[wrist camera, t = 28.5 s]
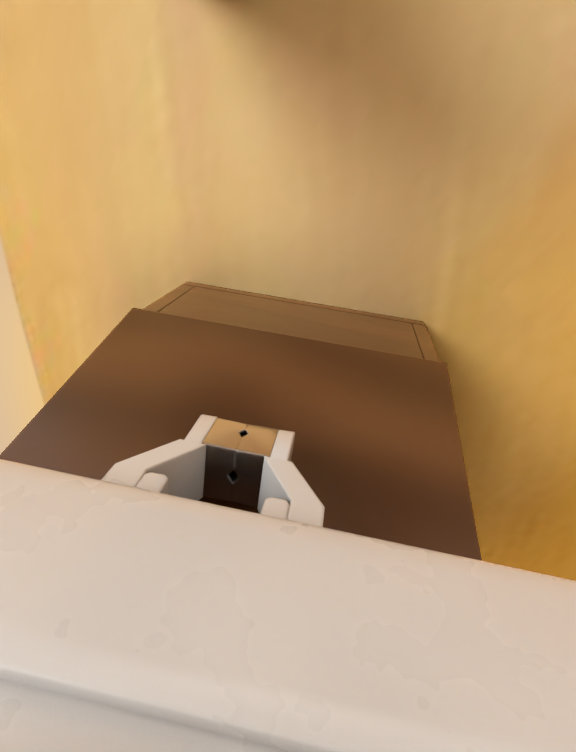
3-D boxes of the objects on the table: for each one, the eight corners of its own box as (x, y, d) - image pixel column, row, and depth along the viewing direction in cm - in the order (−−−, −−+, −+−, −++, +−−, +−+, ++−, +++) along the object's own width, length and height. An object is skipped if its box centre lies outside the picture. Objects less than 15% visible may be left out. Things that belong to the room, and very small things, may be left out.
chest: (375, 500, 33) (378, 576, 27) (179, 461, 34) (139, 525, 28) (423, 321, 27) (442, 365, 21) (186, 281, 28) (137, 311, 22)
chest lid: (508, 794, 9) (523, 786, 9) (-136, 637, 10) (-153, 621, 10) (441, 376, 21) (447, 362, 20) (134, 321, 22) (132, 306, 21)
